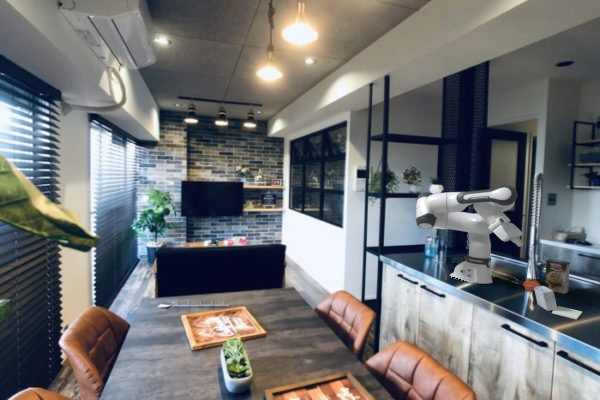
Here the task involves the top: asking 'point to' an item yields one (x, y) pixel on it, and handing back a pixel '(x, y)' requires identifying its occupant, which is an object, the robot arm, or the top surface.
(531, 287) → the pot
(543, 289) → the medicine box
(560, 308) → the sage mat
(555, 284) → the coffee box
